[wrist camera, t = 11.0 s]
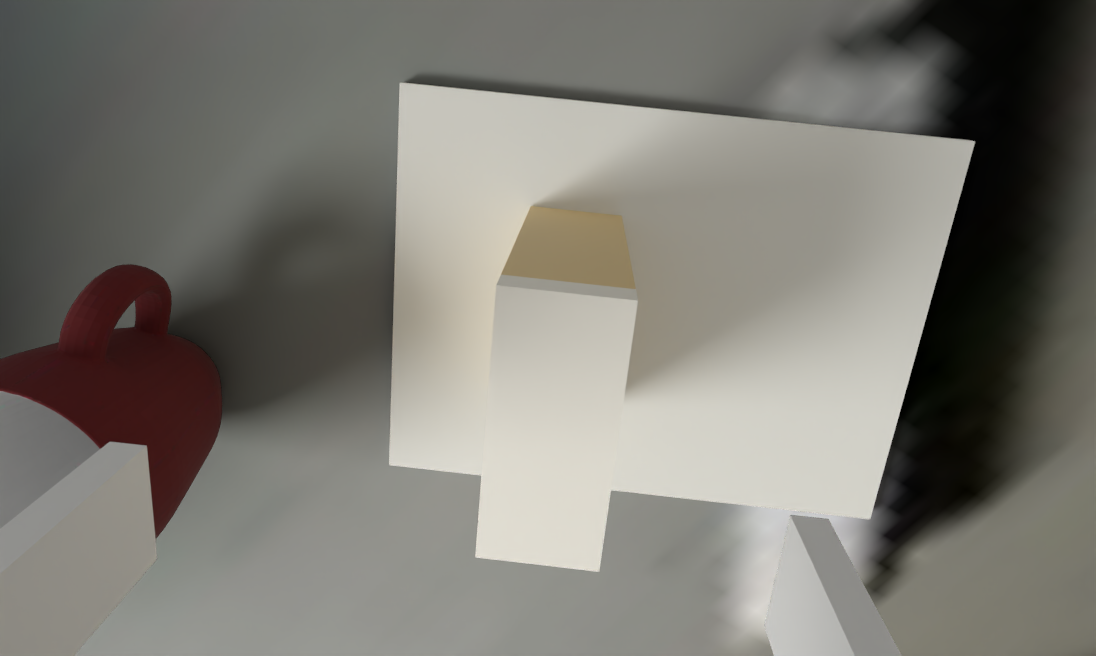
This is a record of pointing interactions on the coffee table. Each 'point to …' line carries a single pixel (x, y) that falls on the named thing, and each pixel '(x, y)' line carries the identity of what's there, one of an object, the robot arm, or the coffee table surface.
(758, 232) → the mat
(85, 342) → the mug
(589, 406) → the slab
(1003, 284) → the coffee table surface
